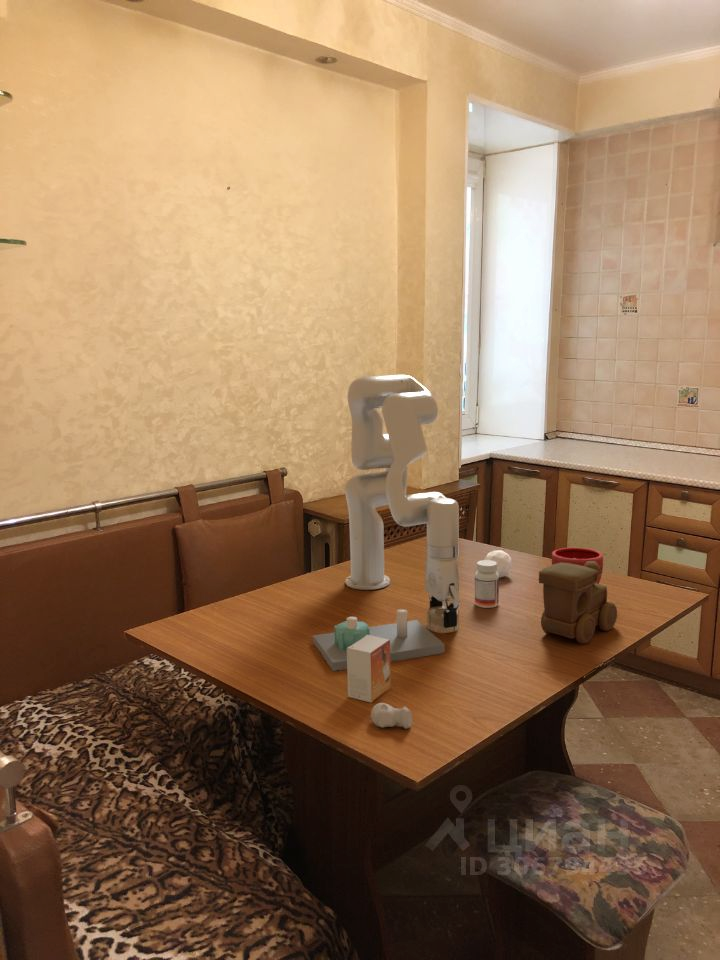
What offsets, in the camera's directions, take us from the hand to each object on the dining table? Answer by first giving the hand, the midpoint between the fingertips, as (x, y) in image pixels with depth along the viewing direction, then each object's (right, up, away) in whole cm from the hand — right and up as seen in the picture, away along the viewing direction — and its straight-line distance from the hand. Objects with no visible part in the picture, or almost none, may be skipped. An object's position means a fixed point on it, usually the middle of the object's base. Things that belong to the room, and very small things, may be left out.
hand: (443, 620), depth 192 cm
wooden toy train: (+31, -2, -5) cm, 32 cm away
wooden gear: (0, -2, 0) cm, 2 cm away
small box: (-18, -9, -33) cm, 38 cm away
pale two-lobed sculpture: (-14, -12, -46) cm, 49 cm away
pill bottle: (+13, +1, +15) cm, 20 cm away
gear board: (-16, -4, -11) cm, 20 cm away
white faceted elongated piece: (+19, +6, +39) cm, 44 cm away
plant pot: (+38, +3, +20) cm, 43 cm away
